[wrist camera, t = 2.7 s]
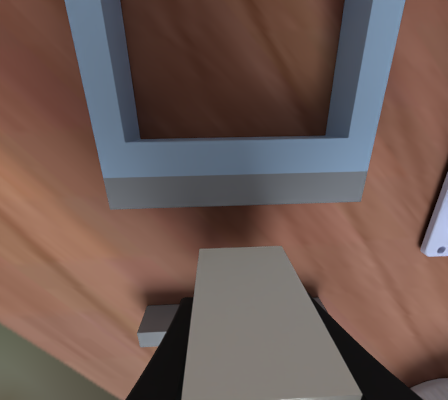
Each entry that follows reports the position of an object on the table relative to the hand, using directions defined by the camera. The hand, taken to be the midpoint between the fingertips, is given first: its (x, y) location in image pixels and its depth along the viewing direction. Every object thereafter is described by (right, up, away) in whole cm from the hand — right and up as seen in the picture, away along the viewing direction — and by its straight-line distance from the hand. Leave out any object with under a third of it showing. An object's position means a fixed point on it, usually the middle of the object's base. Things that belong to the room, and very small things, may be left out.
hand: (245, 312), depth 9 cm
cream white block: (0, +1, +2) cm, 2 cm away
